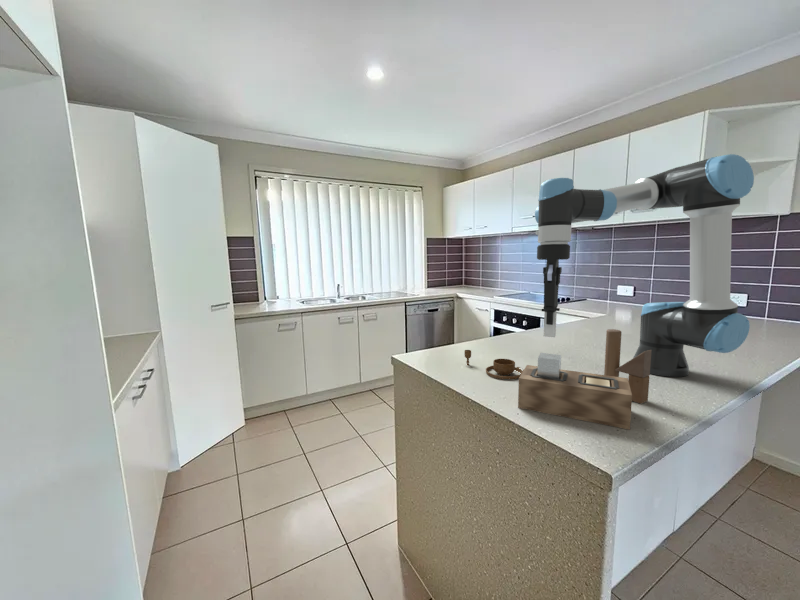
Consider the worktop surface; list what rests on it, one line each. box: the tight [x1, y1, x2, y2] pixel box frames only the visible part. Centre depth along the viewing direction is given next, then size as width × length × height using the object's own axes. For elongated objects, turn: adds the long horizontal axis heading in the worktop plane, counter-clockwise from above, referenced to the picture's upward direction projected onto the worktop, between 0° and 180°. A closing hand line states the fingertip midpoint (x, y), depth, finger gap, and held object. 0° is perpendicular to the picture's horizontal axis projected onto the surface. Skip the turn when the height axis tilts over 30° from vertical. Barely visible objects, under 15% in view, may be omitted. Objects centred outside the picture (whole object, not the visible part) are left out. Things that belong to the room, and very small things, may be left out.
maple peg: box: [586, 377, 610, 387], centre depth 82 cm, size 5×5×7 cm
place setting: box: [464, 349, 523, 380], centre depth 116 cm, size 18×20×6 cm
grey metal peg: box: [537, 352, 562, 379], centre depth 87 cm, size 5×5×7 cm
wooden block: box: [603, 328, 652, 405], centre depth 91 cm, size 4×11×18 cm, turn 29°
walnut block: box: [517, 364, 633, 430], centre depth 85 cm, size 24×12×8 cm, turn 60°
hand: (549, 336), depth 86 cm, fingers closed
